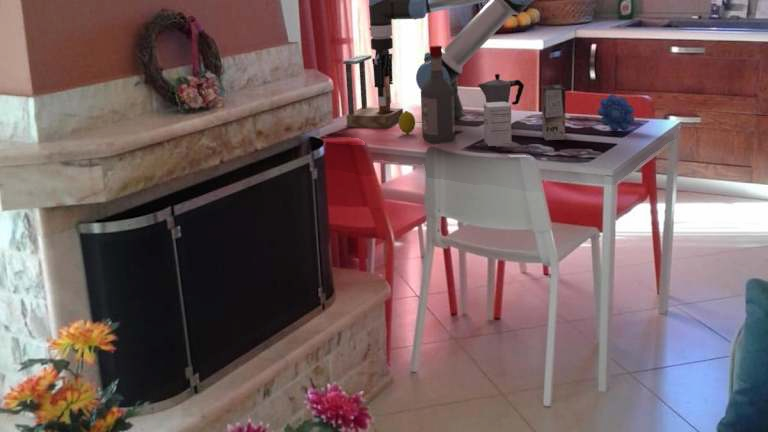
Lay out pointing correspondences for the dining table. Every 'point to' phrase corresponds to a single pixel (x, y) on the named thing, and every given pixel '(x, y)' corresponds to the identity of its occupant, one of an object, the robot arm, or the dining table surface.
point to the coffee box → (553, 112)
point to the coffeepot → (500, 90)
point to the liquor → (437, 103)
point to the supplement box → (497, 123)
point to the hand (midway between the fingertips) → (384, 104)
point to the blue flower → (616, 112)
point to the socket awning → (364, 114)
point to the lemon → (406, 122)
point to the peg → (386, 108)
